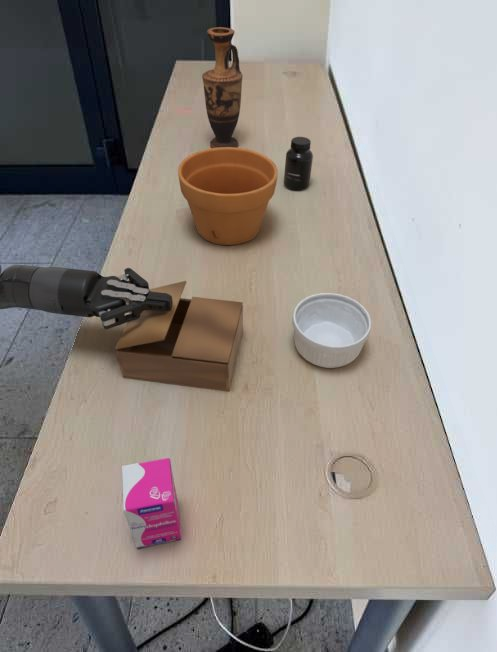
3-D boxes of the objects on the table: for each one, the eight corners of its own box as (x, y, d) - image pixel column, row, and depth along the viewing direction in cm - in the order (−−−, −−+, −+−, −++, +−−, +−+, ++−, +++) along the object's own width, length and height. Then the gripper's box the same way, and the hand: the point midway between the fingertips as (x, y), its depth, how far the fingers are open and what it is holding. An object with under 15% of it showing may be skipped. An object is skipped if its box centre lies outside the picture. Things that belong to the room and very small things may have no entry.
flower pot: (292, 227, 113) (298, 167, 103) (230, 267, 102) (229, 205, 92) (227, 195, 123) (226, 138, 113) (164, 229, 112) (156, 169, 102)
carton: (229, 391, 79) (228, 362, 74) (122, 377, 81) (114, 348, 76) (242, 331, 89) (243, 302, 84) (147, 320, 91) (142, 290, 86)
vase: (213, 156, 139) (208, 38, 118) (200, 141, 146) (194, 27, 125) (248, 150, 142) (249, 34, 121) (234, 135, 149) (233, 23, 128)
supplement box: (136, 551, 61) (120, 510, 53) (134, 506, 65) (119, 462, 57) (182, 542, 62) (174, 500, 54) (178, 498, 66) (169, 454, 58)
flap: (164, 340, 73) (163, 338, 72) (116, 349, 76) (115, 348, 76) (186, 281, 82) (185, 280, 82) (143, 292, 86) (142, 290, 86)
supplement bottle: (287, 192, 125) (290, 147, 116) (280, 180, 130) (283, 135, 121) (312, 190, 126) (318, 145, 117) (305, 177, 131) (309, 133, 122)
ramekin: (364, 379, 81) (372, 351, 76) (286, 369, 82) (289, 341, 78) (363, 325, 90) (370, 296, 85) (293, 316, 92) (296, 288, 87)
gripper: (88, 283, 86) (183, 294, 84) (55, 336, 77) (162, 349, 75) (78, 248, 81) (179, 259, 79) (42, 301, 71) (156, 314, 70)
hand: (171, 303), depth 77 cm, fingers closed
